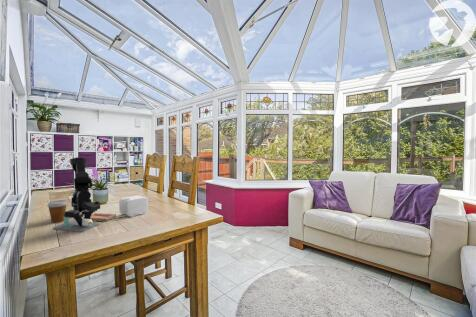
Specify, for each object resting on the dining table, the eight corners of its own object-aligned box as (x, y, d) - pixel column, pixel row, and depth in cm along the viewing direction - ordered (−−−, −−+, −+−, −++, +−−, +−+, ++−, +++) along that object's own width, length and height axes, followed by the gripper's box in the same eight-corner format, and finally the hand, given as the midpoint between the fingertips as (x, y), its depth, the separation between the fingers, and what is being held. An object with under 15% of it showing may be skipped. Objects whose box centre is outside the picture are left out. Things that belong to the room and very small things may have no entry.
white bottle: (70, 225, 130) (72, 217, 131) (76, 225, 134) (78, 218, 135) (87, 226, 128) (89, 219, 129) (93, 226, 132) (95, 219, 133)
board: (53, 229, 129) (52, 227, 129) (70, 222, 140) (70, 221, 140) (83, 231, 125) (83, 230, 125) (99, 225, 136) (99, 223, 136)
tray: (83, 219, 145) (83, 217, 145) (95, 215, 154) (95, 212, 154) (105, 221, 142) (105, 218, 142) (116, 217, 151) (116, 214, 151)
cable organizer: (126, 218, 148) (126, 200, 148) (119, 215, 155) (118, 198, 154) (148, 213, 160) (148, 196, 159) (140, 210, 167) (140, 194, 166)
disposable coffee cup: (46, 224, 136) (45, 204, 135) (50, 220, 144) (49, 201, 144) (66, 222, 140) (65, 202, 140) (69, 218, 149) (68, 199, 148)
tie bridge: (64, 226, 130) (63, 216, 129) (75, 222, 137) (75, 212, 136) (67, 226, 129) (66, 216, 129) (78, 222, 136) (78, 212, 136)
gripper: (80, 202, 120) (81, 232, 121) (107, 195, 138) (108, 220, 139) (62, 201, 122) (64, 230, 123) (91, 194, 140) (92, 219, 141)
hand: (83, 225), depth 131 cm, fingers closed on white bottle, 4 cm apart
